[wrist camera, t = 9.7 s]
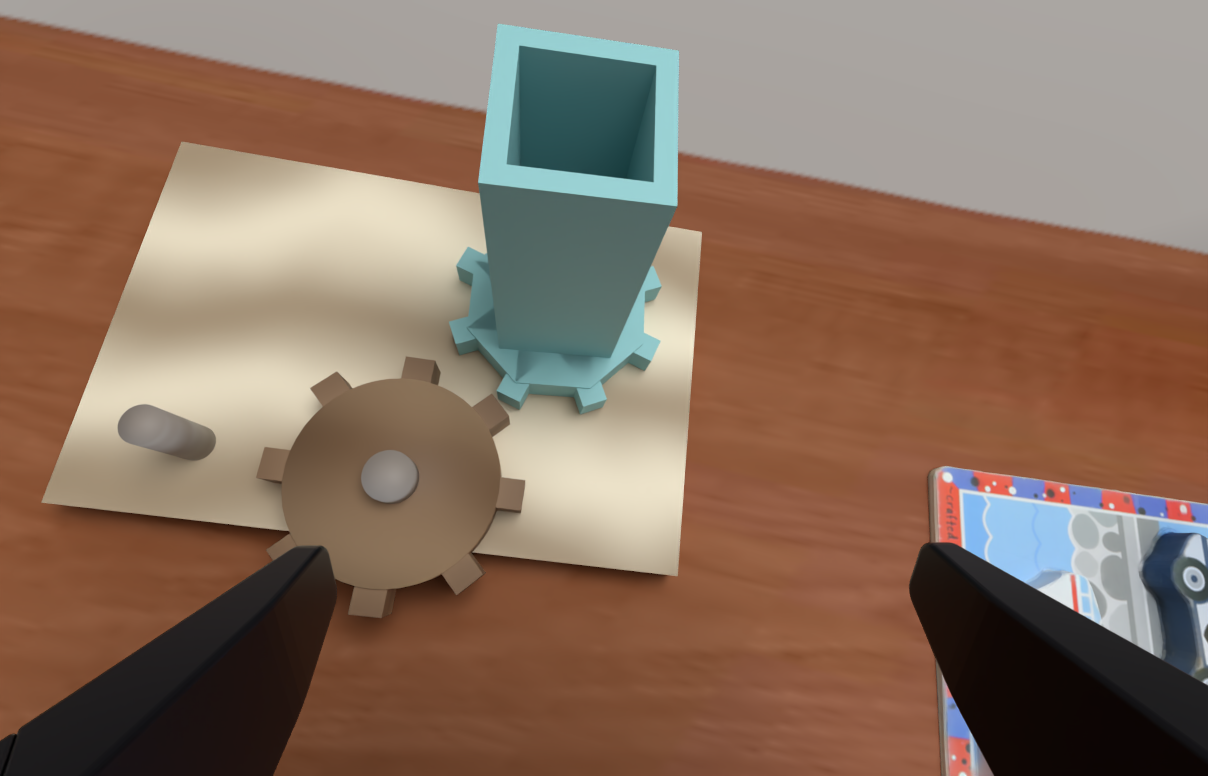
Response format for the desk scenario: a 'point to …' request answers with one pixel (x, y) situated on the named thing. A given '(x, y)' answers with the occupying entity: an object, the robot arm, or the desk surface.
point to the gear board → (360, 316)
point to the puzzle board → (1079, 567)
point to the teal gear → (570, 212)
